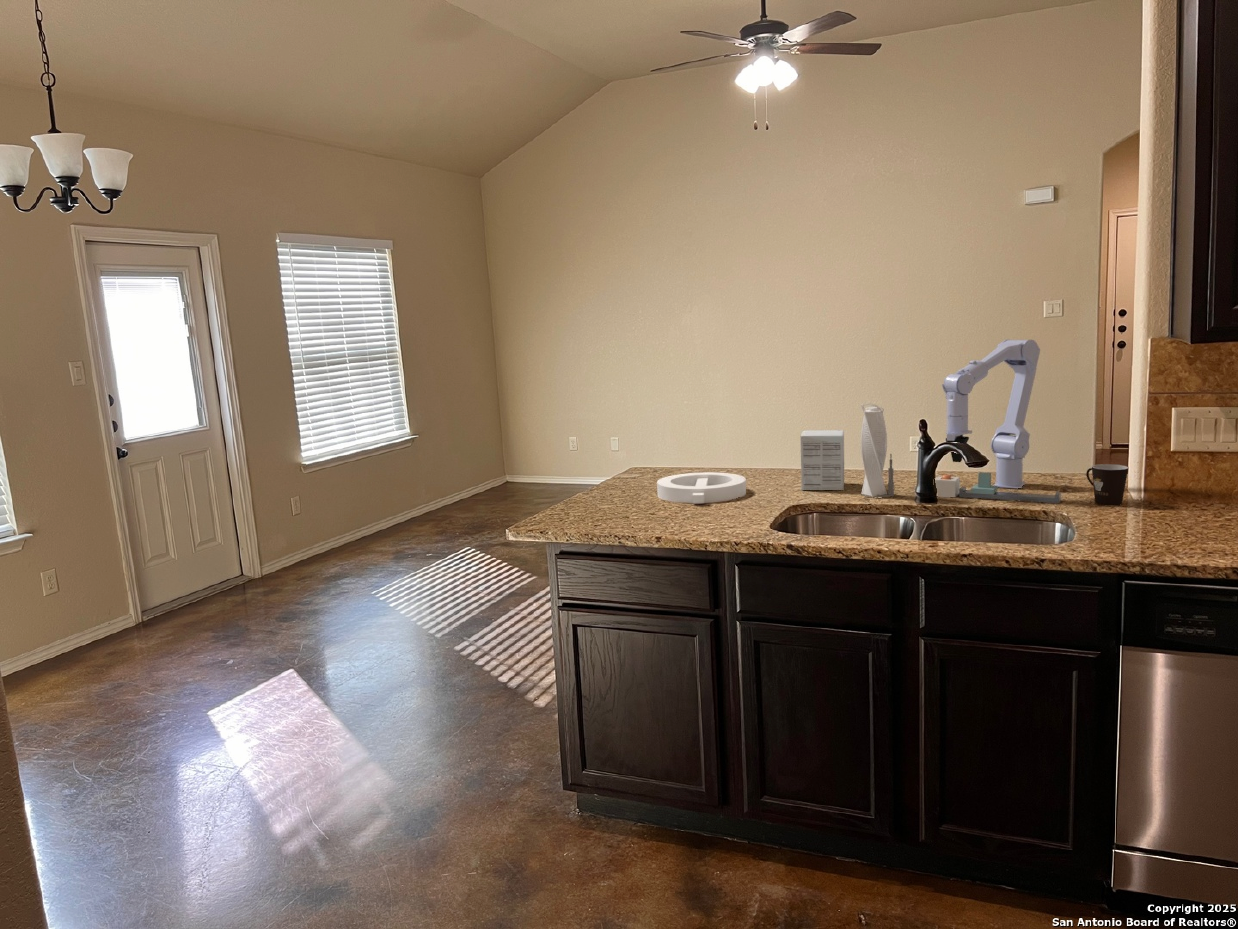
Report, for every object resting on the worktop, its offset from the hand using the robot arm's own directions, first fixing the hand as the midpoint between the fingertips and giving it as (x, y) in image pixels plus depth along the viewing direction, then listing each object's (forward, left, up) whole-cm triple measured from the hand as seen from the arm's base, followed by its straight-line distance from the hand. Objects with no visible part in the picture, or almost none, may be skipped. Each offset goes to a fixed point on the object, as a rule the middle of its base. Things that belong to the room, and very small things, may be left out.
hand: (957, 461), depth 255 cm
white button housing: (+1, -3, -10) cm, 10 cm away
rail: (+1, +14, -10) cm, 17 cm away
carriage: (+1, +8, -8) cm, 11 cm away
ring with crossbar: (+23, -73, -11) cm, 77 cm away
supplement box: (0, -41, -10) cm, 42 cm away
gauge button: (+1, -3, -6) cm, 7 cm away
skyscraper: (+8, -22, -10) cm, 25 cm away
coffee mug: (-3, +38, -10) cm, 40 cm away
